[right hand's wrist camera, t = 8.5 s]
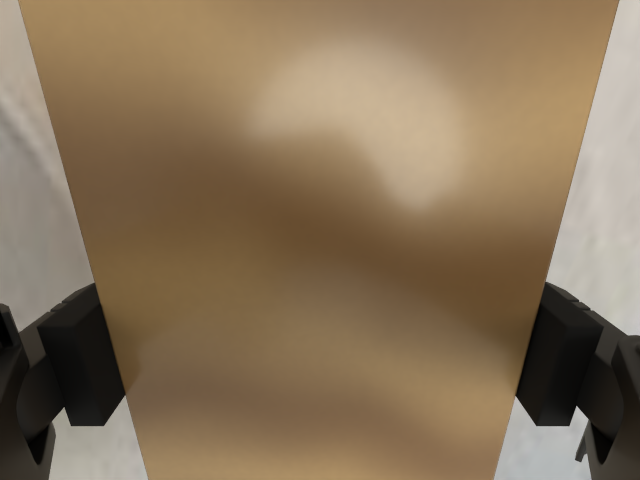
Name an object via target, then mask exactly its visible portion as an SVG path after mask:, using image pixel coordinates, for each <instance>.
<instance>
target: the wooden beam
mask: <svg viewBox="0 0 640 480" xmlns="http://www.w3.org/2000/svg"><path fill="white" fill-rule="evenodd" d="M18 2H19V6H20V9H21V13H22V17H23V20H24V24H25V28H26V31H27V35H28V39H29V42H30V46H31V50H32V53H33V57H34V61H35V64H36V68H37V72H38V75H39V79H40V83H41V86H42V90H43V94H44V97H45V101H46V105H47V108H48V112H49V116H50V119H51V123H52V127H53V130H54V134H55V138H56V141H57V145H58V149H59V152H60V156H61V160H62V163H63V167H64V171H65V175H66V178H67V182H68V186H69V189H70V193H71V197H72V200H73V204H74V208H75V211H76V215H77V219H78V222H79V226H80V230H81V233H82V237H83V241H84V244H85V248H86V252H87V255H88V259H89V263H90V266H91V270H92V274H93V277H94V281H95V285H96V288H97V292H98V296H99V299H100V303H101V307H102V310H103V314H104V318H105V321H106V325H107V329H108V332H109V336H110V340H111V343H112V347H113V351H114V354H115V358H116V362H117V366H118V369H119V373H120V377H121V380H122V384H123V388H124V391H125V395H126V399H127V402H128V406H129V410H130V413H131V417H132V421H133V424H134V428H135V432H136V435H137V439H138V443H139V446H140V450H141V454H142V457H143V461H144V465H145V468H146V472H147V476H148V479H149V480H493V479H494V476H495V472H496V468H497V464H498V460H499V456H500V453H501V449H502V445H503V441H504V437H505V434H506V430H507V426H508V422H509V418H510V415H511V411H512V407H513V403H514V399H515V396H516V392H517V388H518V384H519V380H520V376H521V373H522V369H523V365H524V361H525V357H526V354H527V350H528V346H529V342H530V338H531V335H532V331H533V327H534V323H535V319H536V316H537V312H538V308H539V304H540V300H541V296H542V293H543V289H544V285H545V281H546V277H547V274H548V270H549V266H550V262H551V258H552V255H553V251H554V247H555V243H556V239H557V236H558V232H559V228H560V224H561V220H562V217H563V213H564V209H565V205H566V201H567V197H568V194H569V190H570V186H571V182H572V178H573V175H574V171H575V167H576V163H577V159H578V156H579V152H580V148H581V144H582V140H583V137H584V133H585V129H586V125H587V121H588V117H589V114H590V110H591V106H592V102H593V98H594V95H595V91H596V87H597V83H598V79H599V76H600V72H601V68H602V64H603V60H604V57H605V53H606V49H607V45H608V41H609V37H610V34H611V30H612V26H613V22H614V18H615V15H616V11H617V7H618V3H619V0H18Z"/></svg>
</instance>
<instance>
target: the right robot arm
mask: <svg viewBox="0 0 640 480" xmlns="http://www.w3.org/2000/svg"><path fill="white" fill-rule="evenodd" d="M124 396H125V391H124V388H123V384H122V380H121V377H120V373H119V369H118V366H117V362H116V358H115V354H114V351H113V347H112V343H111V340H110V336H109V332H108V329H107V325H106V321H105V318H104V314H103V310H102V307H101V303H100V299H99V296H98V292H97V288H96V285H95V283H93V284H91V285H88V286H86V287H84V288H82V289H80V290H78V291H75V292H74V293H73V294H71V295H70V296H69V297H67V298H66V299H64V300H63V301H62V303H59V304H58V305H56V306H55V307H54V308H52V309H51V311H50V312H47V313H45V314H44V315H43V316H41V317H40V318H39V319H37V320H36V321H35V322H33V323H32V324H30V325H29V326H28V327H26V328H25V329H24V330H22V331H21V332H20V333H18V330H17V327H16V325H15V322H14V319H13V317H12V314H11V311H10V309H9V306H6V305H4V304H0V480H49V474H50V468H51V462H52V456H53V450H54V444H55V438H56V434H55V428H54V426H53V423H52V420H53V419H54V418H55V417H56V416H57V415H58V413H59V412H60V411H61V410H62V409H63V408H64V407H65V410H66V413H67V416H68V419H69V421H70V424H71V426H104V425H105V424H106V422H107V421H108V419H109V418H110V416H111V415H112V413H113V412H114V410H115V409H116V408H117V406H118V405H119V403H120V402H121V400H122V399H123V397H124ZM516 397H517V398H518V400H519V401H520V403H521V404H522V406H523V407H524V408H525V410H526V411H527V413H528V414H529V416H530V417H531V419H532V420H533V422H534V423H535V424H536V426H569V425H570V423H571V420H572V417H573V414H574V411H575V408H576V406H578V408H579V409H580V410H581V411H582V412H583V413H584V415H585V416H586V417H587V418H588V419H589V420H588V423H587V426H586V428H585V431H584V434H583V436H582V439H581V442H580V444H579V447H578V450H577V452H576V458H575V460H576V461H579V462H581V461H582V459H583V456H584V455H585V454H587V455H588V461H589V467H590V472H591V478H592V480H640V336H638V335H631V336H628V335H626V334H625V333H623V332H622V331H621V330H619V329H618V328H617V327H615V326H614V325H612V324H611V323H610V322H608V321H607V320H606V319H604V318H603V317H601V316H600V315H599V314H597V313H596V312H595V311H591V310H590V308H589V307H588V306H586V305H585V304H584V303H582V302H579V300H578V299H577V298H575V297H574V296H573V295H571V294H570V293H568V292H567V291H566V290H564V289H562V288H559V287H557V286H555V285H553V284H551V283H548V282H545V285H544V289H543V293H542V296H541V300H540V304H539V308H538V312H537V316H536V319H535V323H534V327H533V331H532V335H531V338H530V342H529V346H528V350H527V354H526V357H525V361H524V365H523V369H522V373H521V376H520V380H519V384H518V388H517V392H516Z"/></svg>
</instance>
